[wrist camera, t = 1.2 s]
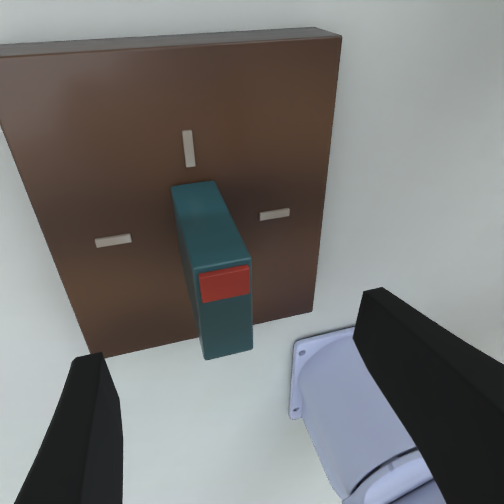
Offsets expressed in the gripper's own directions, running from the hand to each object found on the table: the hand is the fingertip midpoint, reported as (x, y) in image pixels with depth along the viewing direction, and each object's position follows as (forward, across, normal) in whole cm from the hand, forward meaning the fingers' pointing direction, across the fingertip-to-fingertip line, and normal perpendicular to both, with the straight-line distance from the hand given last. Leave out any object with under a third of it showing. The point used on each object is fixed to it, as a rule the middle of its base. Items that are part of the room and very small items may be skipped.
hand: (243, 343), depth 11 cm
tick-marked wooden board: (+10, 0, +1) cm, 10 cm away
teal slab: (+7, 0, +1) cm, 8 cm away
